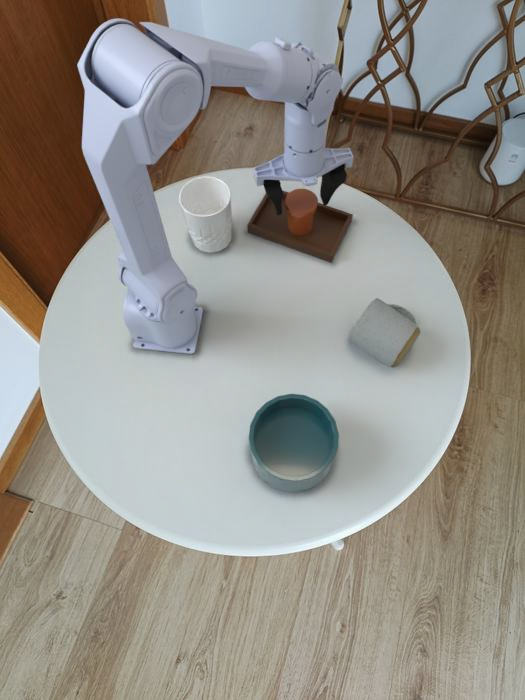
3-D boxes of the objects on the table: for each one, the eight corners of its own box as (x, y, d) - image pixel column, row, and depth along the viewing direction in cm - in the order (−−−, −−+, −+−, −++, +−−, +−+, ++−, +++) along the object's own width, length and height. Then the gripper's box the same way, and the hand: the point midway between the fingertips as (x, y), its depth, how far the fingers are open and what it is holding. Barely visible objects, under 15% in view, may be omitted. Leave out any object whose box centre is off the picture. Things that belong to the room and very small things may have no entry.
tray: (247, 232, 90) (246, 225, 88) (270, 194, 94) (270, 186, 92) (331, 263, 87) (332, 256, 85) (351, 222, 91) (353, 214, 89)
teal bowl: (246, 487, 72) (243, 474, 65) (257, 408, 77) (255, 389, 70) (329, 497, 71) (335, 485, 64) (335, 417, 76) (341, 398, 69)
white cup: (240, 222, 91) (236, 180, 82) (228, 259, 88) (223, 220, 79) (196, 214, 92) (187, 172, 83) (182, 251, 89) (172, 211, 80)
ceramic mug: (391, 378, 78) (403, 356, 71) (343, 349, 80) (350, 324, 73) (426, 327, 82) (440, 300, 75) (380, 300, 84) (389, 272, 77)
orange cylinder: (295, 242, 88) (296, 219, 83) (278, 221, 90) (278, 197, 85) (321, 228, 90) (324, 204, 84) (304, 208, 91) (306, 183, 86)
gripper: (260, 169, 71) (263, 234, 83) (365, 148, 72) (352, 215, 84) (248, 132, 74) (252, 200, 86) (348, 112, 75) (338, 182, 87)
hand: (301, 205), depth 85 cm, fingers open, 7 cm apart
